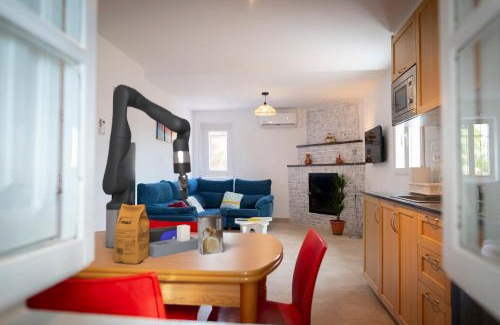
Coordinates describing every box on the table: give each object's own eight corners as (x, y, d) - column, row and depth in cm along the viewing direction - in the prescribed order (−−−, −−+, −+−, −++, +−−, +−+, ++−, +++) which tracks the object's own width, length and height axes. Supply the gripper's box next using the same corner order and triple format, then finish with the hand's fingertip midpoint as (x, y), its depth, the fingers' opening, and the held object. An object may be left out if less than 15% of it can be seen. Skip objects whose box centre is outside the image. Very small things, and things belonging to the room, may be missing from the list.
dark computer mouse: (145, 253, 130) (145, 230, 130) (142, 250, 134) (142, 229, 134) (181, 247, 139) (181, 226, 139) (178, 245, 143) (178, 225, 143)
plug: (177, 248, 132) (177, 225, 133) (185, 247, 135) (185, 224, 135) (181, 250, 129) (181, 226, 130) (189, 248, 132) (189, 225, 132)
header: (144, 256, 125) (144, 243, 125) (189, 247, 139) (189, 236, 139) (154, 260, 118) (154, 247, 118) (199, 250, 132) (199, 239, 133)
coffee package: (127, 256, 125) (128, 202, 126) (152, 258, 121) (153, 203, 122) (109, 262, 116) (109, 204, 117) (135, 265, 112) (135, 205, 112)
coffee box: (218, 251, 131) (217, 214, 132) (223, 254, 126) (223, 215, 126) (197, 254, 127) (197, 215, 128) (202, 257, 122) (202, 217, 122)
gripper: (172, 164, 140) (174, 199, 139) (174, 161, 126) (176, 200, 125) (188, 163, 142) (190, 197, 141) (192, 160, 128) (194, 199, 128)
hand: (184, 199), depth 133 cm, fingers open, 8 cm apart
